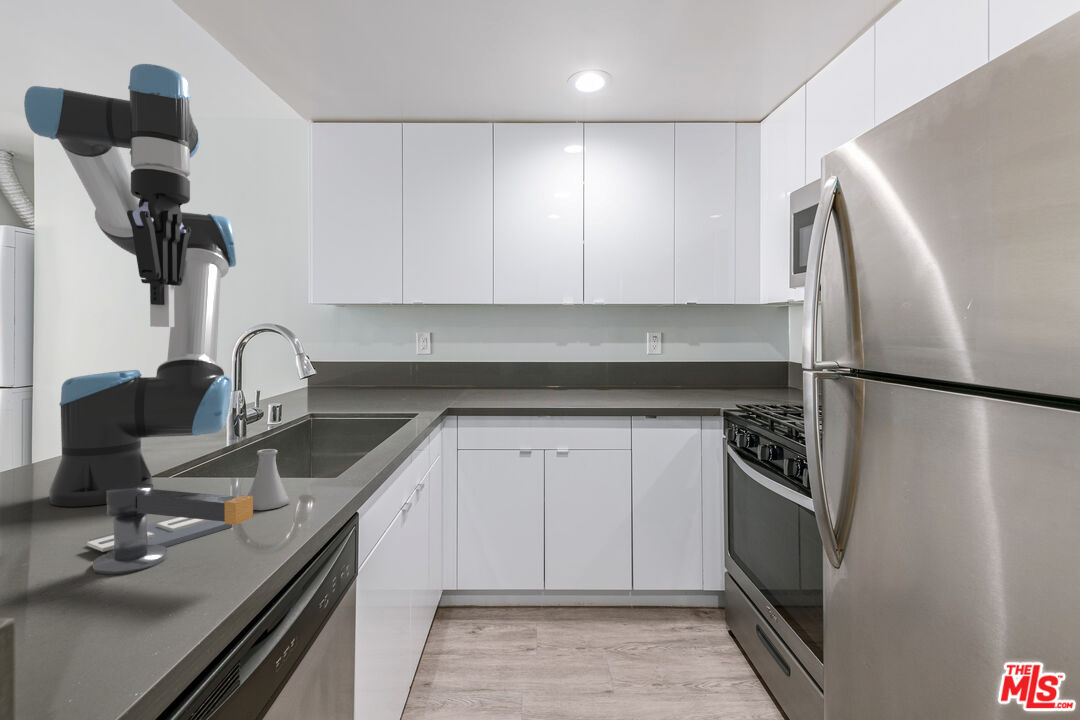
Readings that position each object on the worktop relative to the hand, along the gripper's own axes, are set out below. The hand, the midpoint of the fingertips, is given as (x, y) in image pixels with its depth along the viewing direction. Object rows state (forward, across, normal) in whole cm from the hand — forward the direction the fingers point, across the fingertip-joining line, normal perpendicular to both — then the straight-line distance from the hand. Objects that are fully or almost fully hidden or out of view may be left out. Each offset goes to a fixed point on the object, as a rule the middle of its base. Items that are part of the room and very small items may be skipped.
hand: (162, 326), depth 85 cm
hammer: (+25, +16, +10) cm, 31 cm away
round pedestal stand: (+32, +14, +3) cm, 35 cm away
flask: (+32, -11, +11) cm, 36 cm away
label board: (+32, +4, +2) cm, 32 cm away
